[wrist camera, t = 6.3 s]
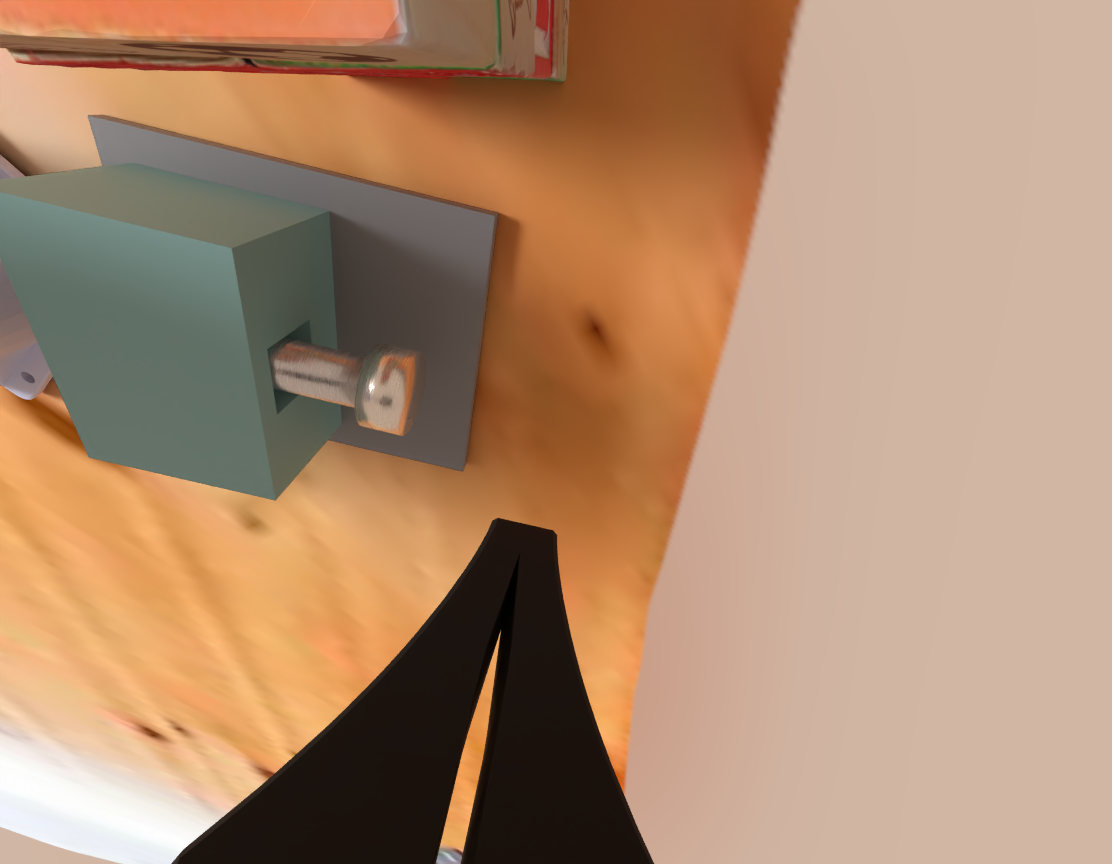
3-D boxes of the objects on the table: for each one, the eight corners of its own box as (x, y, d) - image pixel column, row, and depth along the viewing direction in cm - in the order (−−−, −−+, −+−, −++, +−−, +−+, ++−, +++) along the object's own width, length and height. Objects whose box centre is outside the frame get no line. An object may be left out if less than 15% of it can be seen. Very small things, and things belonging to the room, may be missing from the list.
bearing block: (181, 397, 20) (69, 473, 16) (102, 114, 14) (-104, 121, 10) (466, 464, 20) (426, 555, 16) (498, 213, 15) (450, 256, 11)
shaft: (113, 333, 16) (38, 368, 14) (87, 256, 15) (-2, 282, 13) (424, 407, 17) (395, 452, 15) (428, 338, 15) (396, 377, 13)
